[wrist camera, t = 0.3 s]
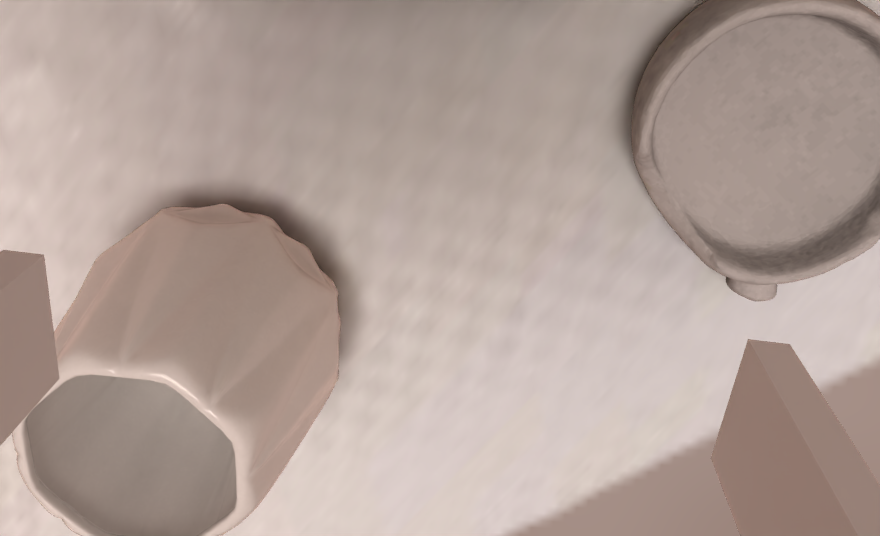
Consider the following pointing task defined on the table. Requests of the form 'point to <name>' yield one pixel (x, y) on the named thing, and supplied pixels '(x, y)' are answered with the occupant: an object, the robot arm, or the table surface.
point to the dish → (765, 137)
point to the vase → (182, 377)
